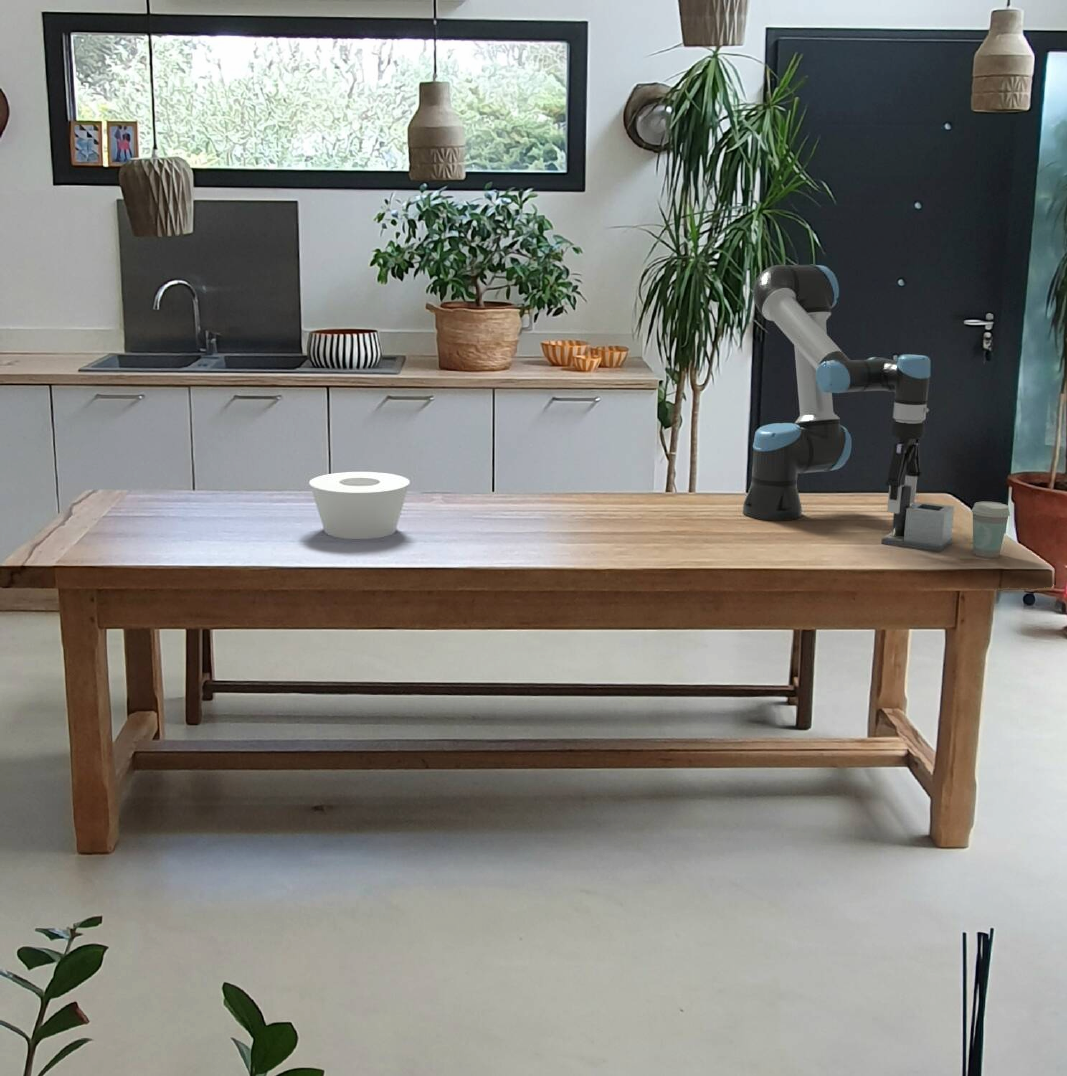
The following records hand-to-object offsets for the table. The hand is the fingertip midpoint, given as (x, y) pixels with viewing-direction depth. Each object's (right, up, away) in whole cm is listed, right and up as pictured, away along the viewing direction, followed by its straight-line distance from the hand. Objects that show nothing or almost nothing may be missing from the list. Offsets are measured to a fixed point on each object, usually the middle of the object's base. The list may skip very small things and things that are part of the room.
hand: (901, 507), depth 326 cm
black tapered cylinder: (0, -7, +2) cm, 7 cm away
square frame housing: (+4, -9, 0) cm, 9 cm away
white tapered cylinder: (-131, -6, +1) cm, 131 cm away
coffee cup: (+17, -12, -9) cm, 23 cm away
